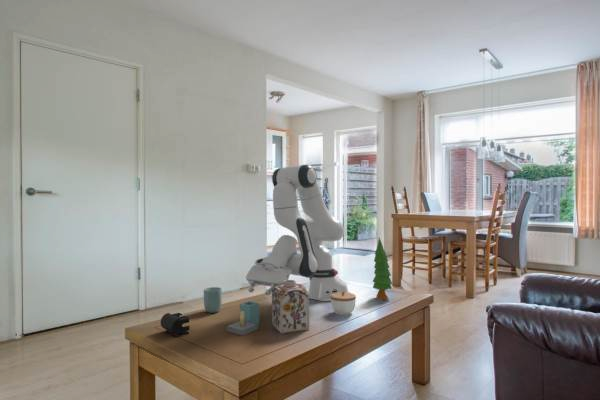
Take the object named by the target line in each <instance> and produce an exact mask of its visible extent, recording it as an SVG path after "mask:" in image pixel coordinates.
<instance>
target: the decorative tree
mask: <svg viewBox="0 0 600 400" xmlns="http://www.w3.org/2000/svg"><path fill="white" fill-rule="evenodd" d="M376 246H377V247H376V249H375V252H374V260H373V262H375V264H374V268H373V269H374V272H373V273H374V275H375V276H374V277H373V279H372V283H373V287H372V288H373V289H376V290H378V292H377V295H376V297H375V299H377V300H379V299H380V300H388V299H389V297H388V294H386V290H390V289H392V286H391V285H393V282H392V280H391V278H390V276H392V275H391V272H390V270H389V268H390V265H389V263H388V262H389V260H388V257H387V253H386V251H385V249H384V246H383V243H382V240H381V238H380V237H378V241H377V245H376Z"/></svg>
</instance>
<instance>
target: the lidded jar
mask: <svg viewBox="0 0 600 400" xmlns="http://www.w3.org/2000/svg"><path fill="white" fill-rule="evenodd" d="M356 298H357V297H356V294H354V293H351V292H350V293H344V291H342V293H334V294H332V295H331V301H330V305H331V308H332V310H333V311H334V312H335V313H336V315H338V316H349V315H351V313H352V312H353V311H354V309H355V308H356V307H355V306H356Z"/></svg>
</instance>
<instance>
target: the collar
mask: <svg viewBox="0 0 600 400" xmlns="http://www.w3.org/2000/svg"><path fill="white" fill-rule="evenodd" d="M241 311H244V312H245V321H246V322H250V323H254V324H257V325H258V324H260V302H256V301H252V300H251V301H250V300H249V301H245V302H242V303H239V313H240V312H241Z"/></svg>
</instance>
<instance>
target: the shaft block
mask: <svg viewBox="0 0 600 400" xmlns="http://www.w3.org/2000/svg"><path fill="white" fill-rule="evenodd" d="M226 329H227V330H226V331H227V332H228V333H232V334H236V335H239V336H245V335H247V334H250V333H253V332H255V331H257V330H258V324H254V323H250V322H246V321H245V312H244V311H241V312H240V311H239V321H238V322H235V323H231V324H229V325H227V326H226Z"/></svg>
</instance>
